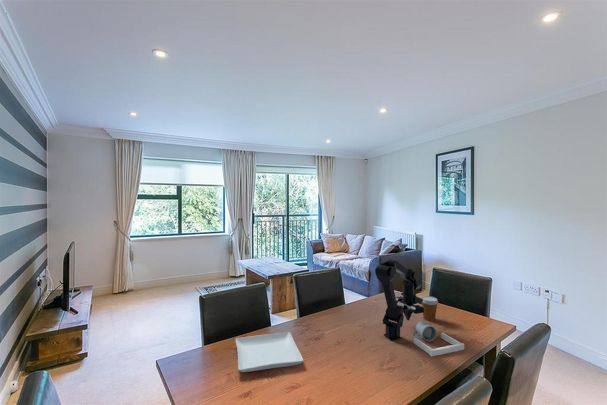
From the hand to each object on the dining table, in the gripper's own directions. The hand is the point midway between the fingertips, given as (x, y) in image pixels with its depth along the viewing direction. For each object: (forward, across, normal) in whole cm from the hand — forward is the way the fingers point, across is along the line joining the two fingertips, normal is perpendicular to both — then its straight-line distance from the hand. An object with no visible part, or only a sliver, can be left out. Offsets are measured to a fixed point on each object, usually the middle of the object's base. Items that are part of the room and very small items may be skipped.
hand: (408, 320), depth 162 cm
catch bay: (+4, -21, 0) cm, 21 cm away
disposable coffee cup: (+4, +5, -19) cm, 20 cm away
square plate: (+5, -2, +79) cm, 79 cm away
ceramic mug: (+4, -13, +1) cm, 13 cm away
